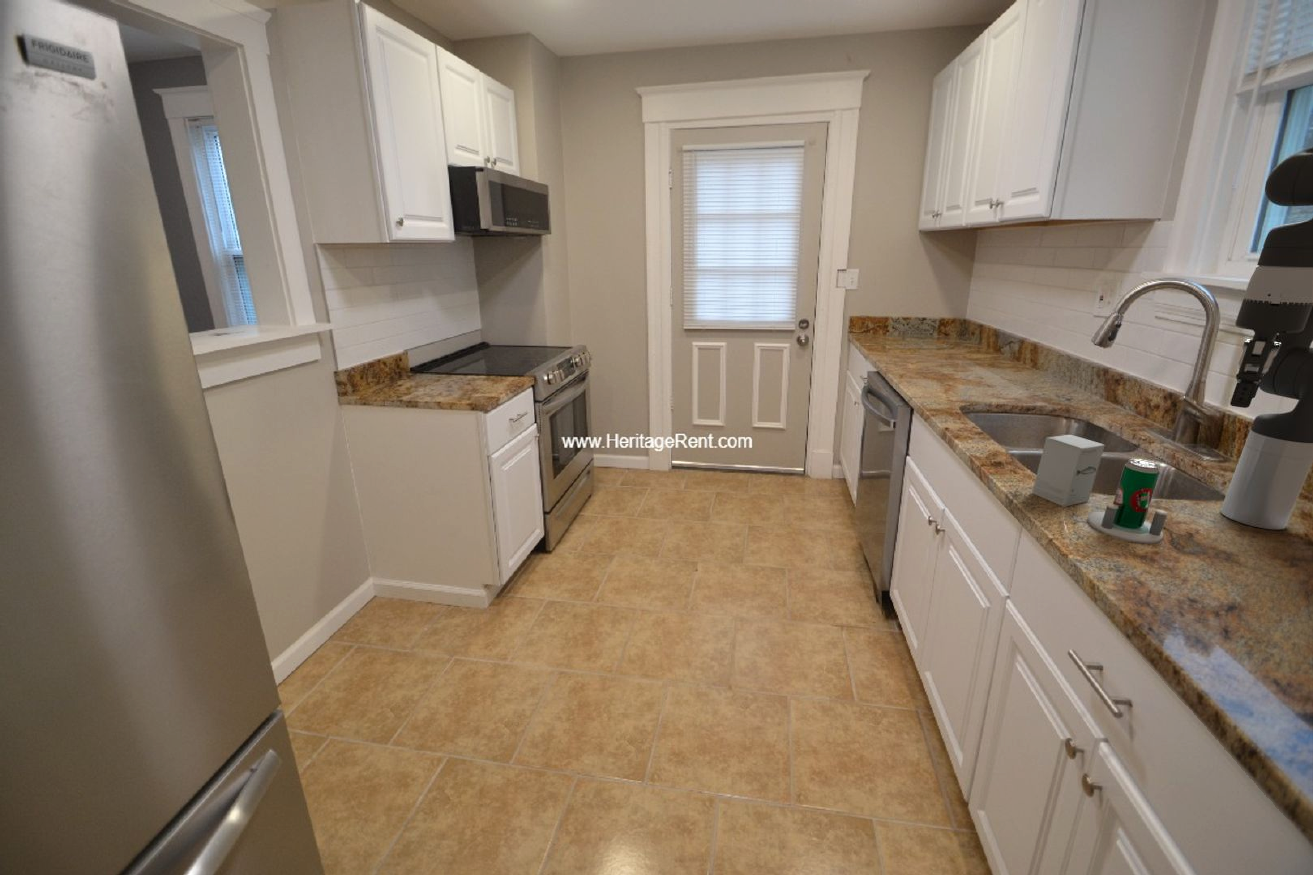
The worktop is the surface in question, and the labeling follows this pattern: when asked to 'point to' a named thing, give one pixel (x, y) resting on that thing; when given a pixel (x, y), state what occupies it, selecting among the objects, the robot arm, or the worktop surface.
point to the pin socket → (1139, 535)
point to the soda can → (1135, 492)
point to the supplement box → (1067, 469)
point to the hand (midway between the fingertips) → (1242, 402)
